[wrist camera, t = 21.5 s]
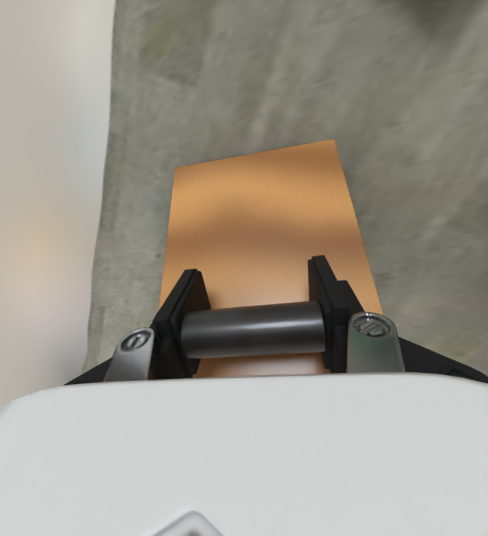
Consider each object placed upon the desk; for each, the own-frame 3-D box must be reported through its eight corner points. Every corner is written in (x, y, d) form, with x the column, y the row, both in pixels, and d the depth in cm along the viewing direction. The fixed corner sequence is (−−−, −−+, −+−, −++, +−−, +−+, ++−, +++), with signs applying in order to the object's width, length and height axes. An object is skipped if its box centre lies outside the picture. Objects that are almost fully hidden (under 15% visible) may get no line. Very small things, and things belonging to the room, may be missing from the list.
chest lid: (395, 376, 11) (466, 376, 7) (156, 385, 13) (82, 390, 8) (332, 147, 17) (347, 65, 13) (178, 174, 19) (143, 111, 15)
